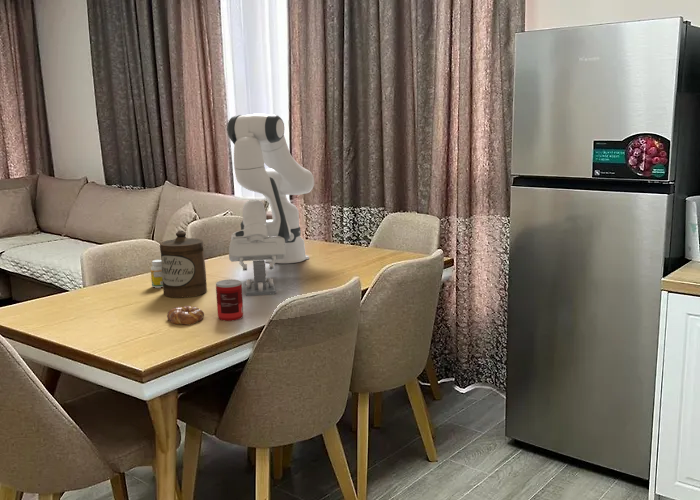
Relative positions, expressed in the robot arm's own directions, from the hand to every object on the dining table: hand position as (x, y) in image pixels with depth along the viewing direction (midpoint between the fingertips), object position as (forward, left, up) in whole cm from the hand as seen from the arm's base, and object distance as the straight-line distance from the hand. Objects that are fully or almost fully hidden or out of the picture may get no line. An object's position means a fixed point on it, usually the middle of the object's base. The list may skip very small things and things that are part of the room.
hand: (258, 269), depth 242 cm
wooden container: (-4, -25, -7) cm, 27 cm away
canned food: (+33, -15, -7) cm, 37 cm away
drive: (+4, 0, -6) cm, 7 cm away
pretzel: (+30, -28, -7) cm, 42 cm away
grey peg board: (+4, 0, -7) cm, 8 cm away
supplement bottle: (-17, -33, -7) cm, 38 cm away
